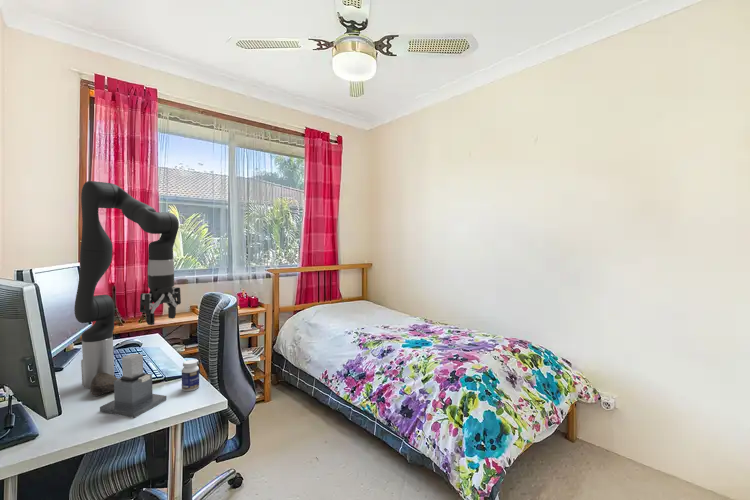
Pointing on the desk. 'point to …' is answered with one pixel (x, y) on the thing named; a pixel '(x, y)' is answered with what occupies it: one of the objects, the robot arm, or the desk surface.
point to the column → (132, 367)
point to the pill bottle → (190, 375)
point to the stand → (133, 397)
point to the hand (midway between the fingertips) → (161, 321)
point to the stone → (102, 384)
